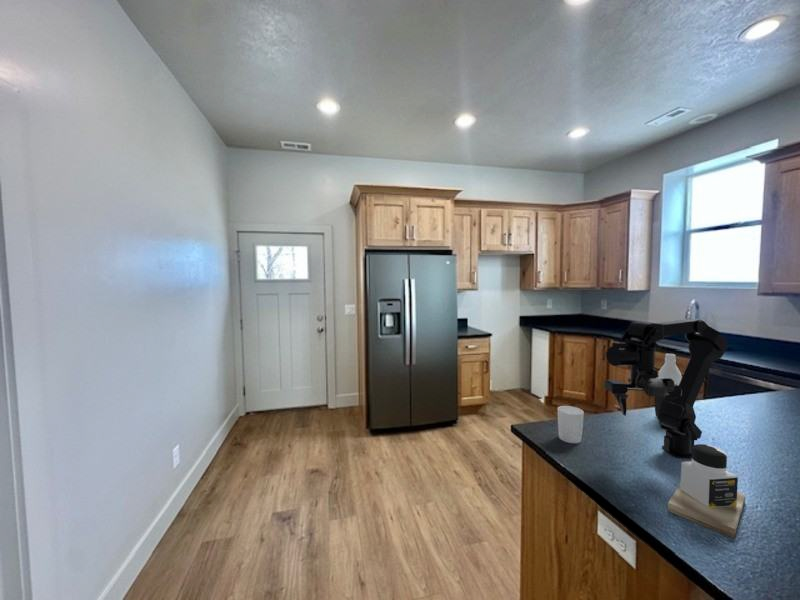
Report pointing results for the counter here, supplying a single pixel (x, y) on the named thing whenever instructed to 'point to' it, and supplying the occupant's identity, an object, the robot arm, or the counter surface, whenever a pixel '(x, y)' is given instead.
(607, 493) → the counter surface
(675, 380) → the water bottle
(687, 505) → the tan flat slab
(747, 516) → the counter surface
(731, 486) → the medicine bottle
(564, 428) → the white cup
